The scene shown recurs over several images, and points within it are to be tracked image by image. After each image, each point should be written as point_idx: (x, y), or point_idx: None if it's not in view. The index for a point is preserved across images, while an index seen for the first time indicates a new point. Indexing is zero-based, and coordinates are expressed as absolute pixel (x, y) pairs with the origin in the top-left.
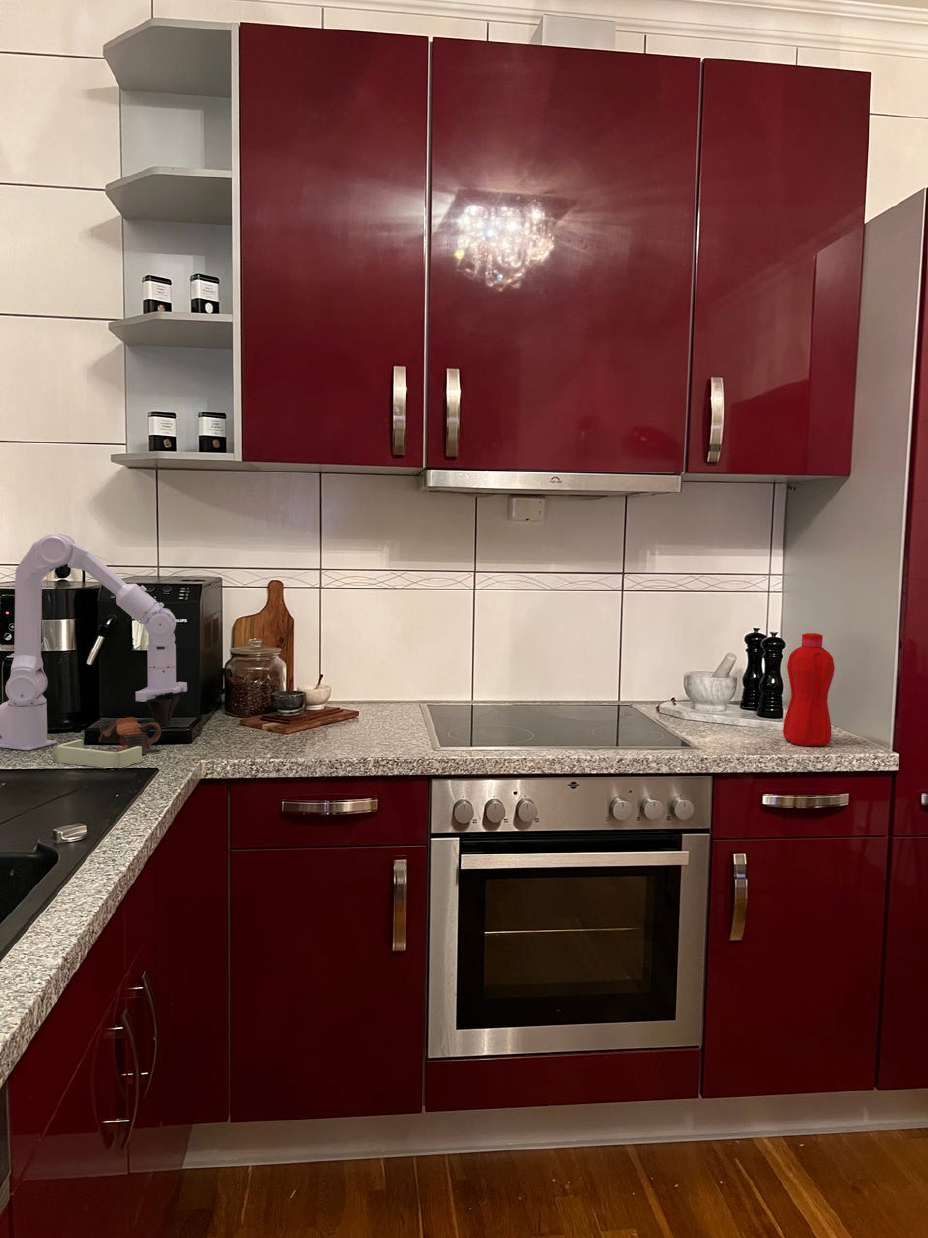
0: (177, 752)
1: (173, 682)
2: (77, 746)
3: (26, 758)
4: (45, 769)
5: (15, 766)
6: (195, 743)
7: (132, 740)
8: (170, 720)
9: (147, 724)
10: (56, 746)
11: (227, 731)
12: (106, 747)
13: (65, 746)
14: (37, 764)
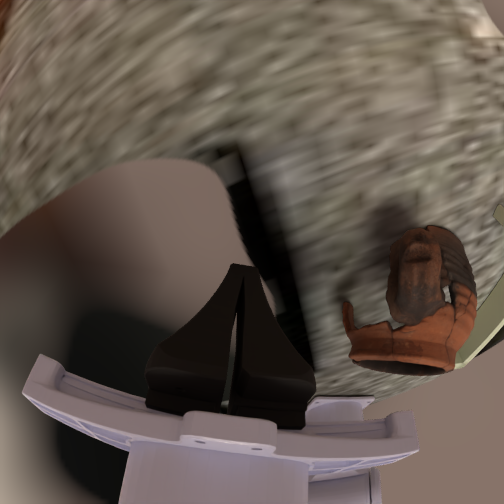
0: (402, 136)
1: (216, 494)
2: None
3: (418, 378)
4: None
5: None
6: (232, 125)
7: (472, 279)
8: (223, 284)
9: (442, 300)
10: (464, 364)
11: (32, 134)
12: (343, 337)
13: (469, 356)
14: None
